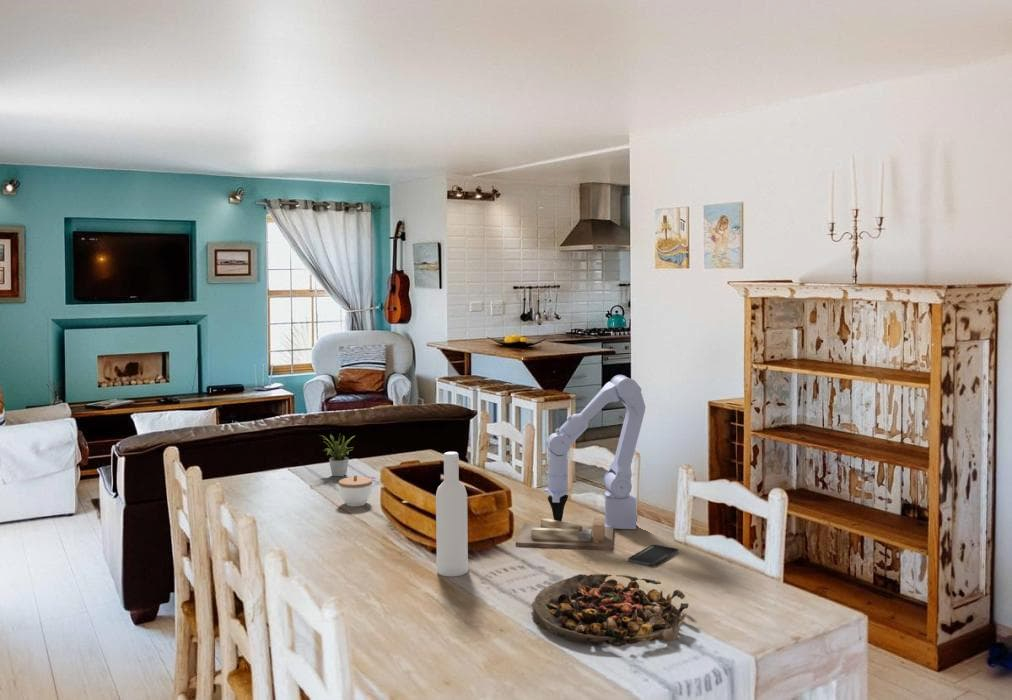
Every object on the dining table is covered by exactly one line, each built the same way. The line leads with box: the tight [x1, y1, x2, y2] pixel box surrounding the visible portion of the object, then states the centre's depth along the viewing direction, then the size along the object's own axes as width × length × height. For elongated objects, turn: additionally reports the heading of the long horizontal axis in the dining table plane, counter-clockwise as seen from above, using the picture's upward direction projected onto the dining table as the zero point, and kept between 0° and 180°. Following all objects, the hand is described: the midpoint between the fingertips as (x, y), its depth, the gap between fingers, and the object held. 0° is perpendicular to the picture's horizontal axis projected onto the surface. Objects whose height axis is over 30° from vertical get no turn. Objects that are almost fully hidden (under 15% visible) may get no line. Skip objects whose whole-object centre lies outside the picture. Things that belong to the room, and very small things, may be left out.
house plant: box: [319, 434, 355, 477], centre depth 317 cm, size 14×14×16 cm
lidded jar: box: [338, 474, 373, 507], centre depth 278 cm, size 11×11×9 cm
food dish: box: [530, 573, 689, 647], centre depth 186 cm, size 35×33×8 cm
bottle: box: [435, 451, 469, 578], centre depth 213 cm, size 8×8×30 cm
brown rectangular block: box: [592, 517, 605, 542], centre depth 237 cm, size 3×6×5 cm, turn 172°
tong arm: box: [540, 517, 583, 531], centre depth 244 cm, size 13×2×2 cm, turn 52°
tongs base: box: [515, 523, 614, 551], centre depth 241 cm, size 26×18×4 cm
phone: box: [627, 544, 679, 568], centre depth 225 cm, size 8×1×15 cm
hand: (558, 520), depth 250 cm, fingers closed
